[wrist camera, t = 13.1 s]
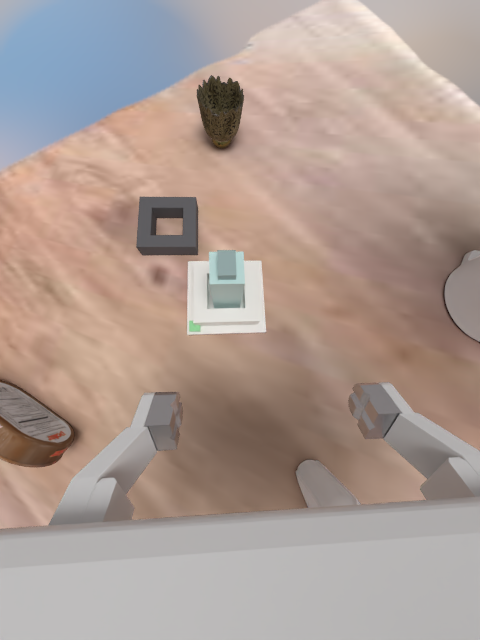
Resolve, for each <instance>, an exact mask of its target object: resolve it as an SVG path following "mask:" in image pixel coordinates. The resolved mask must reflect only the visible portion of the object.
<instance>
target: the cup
mask: <svg viewBox="0 0 480 640" xmlns="http://www.w3.org/2000/svg"><path fill="white" fill-rule="evenodd" d="M197 99H198V103H199V108H200V113H201V118H202V122H203V125H204V128H205V131H206V132H207V134H208V135H209V136H210V137H211V138H212V142H213V144H214V145H215V146H216V147H218V148H226V147H228V146H229V144H230V142H231V139H232V138H233V137H234V136H235V135H236V133H237V131H238V128H239V124H240V119H241V113H242V107H243V101H244V95H243V89H242V90H240V86H239V83H238V81H235V82H232V79H231V78H229V79H228V82H227V83H225V82H223V83H221V81H220V77H219V76H218V77H217V79H215V78H214V77H213V76H212V75H211V76H210V78H209V80H208V83H206V81H205V80H203V88H202V87H201V86H200V85H199V90H198V89H197Z"/></svg>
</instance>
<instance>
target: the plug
mask: <svg viewBox="0 0 480 640" xmlns="http://www.w3.org/2000/svg"><path fill="white" fill-rule="evenodd" d="M209 284H210V289H211V294H212V300H213V305H214V308H240V305H241V300H242V295H243V291H244V286H245V274H244V253H243V252H236V251H235V250H217V252H209Z"/></svg>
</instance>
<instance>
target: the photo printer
mask: <svg viewBox="0 0 480 640" xmlns="http://www.w3.org/2000/svg"><path fill="white" fill-rule="evenodd" d="M296 476H297V480H298V483H299V486H300V488H301V491H302V494H303V496H304V499H305V501H306V504H307V506H308V508H315V507H329V506H344V505H359V504H361V503H360V502H359V501H358V499H357V498H356V497H355V496H354V495H353V494H352V493H351V492H350V491H349V490H348V489H347V488H346V487H345V486H344V485H343V484H342V483H341V482H340V481H339V480H338V479H337V478H336V477H335V476H334V475H333V474H332V473H331V472H330V471H329V470H328V469H327V468H326V467H325V466H324V465H323V464H322V463H321V462H320V461H318V460H316V461H314V460H305V461H303V462H302V463H301V464H300V465H299V466H298V469H297V471H296Z"/></svg>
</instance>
